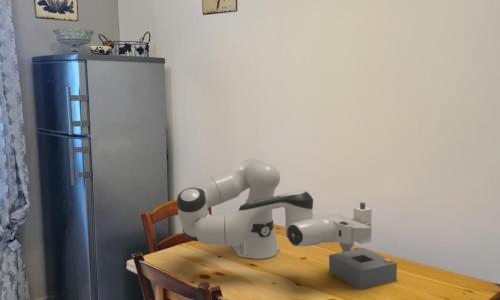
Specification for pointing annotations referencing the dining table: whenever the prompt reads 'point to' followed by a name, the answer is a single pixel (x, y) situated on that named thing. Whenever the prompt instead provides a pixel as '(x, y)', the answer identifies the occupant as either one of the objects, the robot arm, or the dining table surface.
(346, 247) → the light bulb
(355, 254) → the socket housing
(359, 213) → the plug
